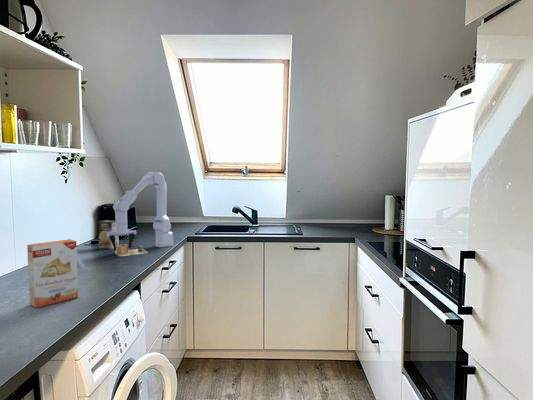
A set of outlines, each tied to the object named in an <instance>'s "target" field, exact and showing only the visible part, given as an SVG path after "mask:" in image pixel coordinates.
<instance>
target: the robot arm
mask: <svg viewBox="0 0 533 400" xmlns="http://www.w3.org/2000/svg"><path fill="white" fill-rule="evenodd" d="M148 185H151V186H154V187H155V188H156V216H155V217H154V220H153V224H152V229H153V230H154V231H155V247H157V248H166V247H174V234H173V231H171V229H172V224H171V222H170V218H169V217H168V216H167V210H168V209H167V207H168V206H167V204H168V203H167V200H168V199H167V198H168V197H167V194H168V193H167V190H168V188H167V187H168V185H167V182H166V181H165V175H164V174H163V173H162V172H160V171H156V172H154V171H148V172H146V173H145V174H144V175H142V178H141V180H140V181H139V182H138V183H137V184H136V185H135V186H134V188H132V190H131V189H130V190H129V189H128V190H126V191H125V193H124V195H123V196H122V197H120V198H119V200H116V201H115V202H114V203H113V206H112V208H113V210H114V214H115V216H114V217H115V221H116V232H109V233H107V237H109V238H110V240H111V242H112V244H113V248H112V249H113V250H114V251H116V245H115V236H128V249H131V248H132V245H133V241H134V239H135V237H136V235H137V230H136V229H134V230H129V229H128V211H129V209H130V205H132V204H133V203H134V201H135V200H137V198H138V194H139V193H140V192H141V191H143V189H145V188H146V187H147V186H148Z"/></svg>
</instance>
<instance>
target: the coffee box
mask: <svg viewBox="0 0 533 400" xmlns="http://www.w3.org/2000/svg"><path fill="white" fill-rule="evenodd" d="M109 232H116V220H109V219H105V220H99V221H98V246H99V247H98V249H114V248H113V244H112V242H111V240H110V238H109V237H107V233H109ZM119 242H120V239H119V236H115V245H116V246H117V245H120V244H119Z"/></svg>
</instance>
